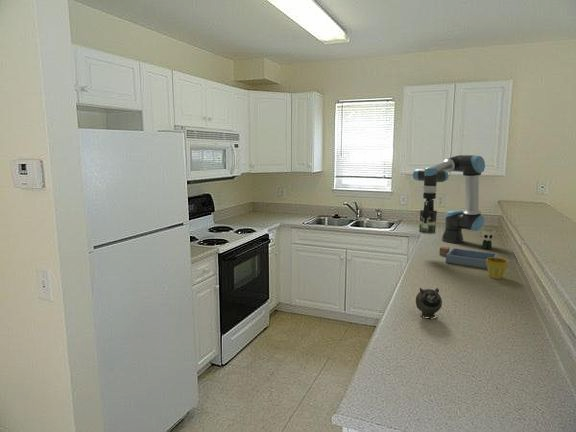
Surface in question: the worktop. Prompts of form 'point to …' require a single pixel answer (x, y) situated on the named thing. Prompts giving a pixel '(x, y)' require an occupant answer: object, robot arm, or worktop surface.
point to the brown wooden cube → (444, 250)
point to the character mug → (487, 238)
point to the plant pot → (496, 267)
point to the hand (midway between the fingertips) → (427, 226)
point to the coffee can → (431, 222)
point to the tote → (468, 257)
